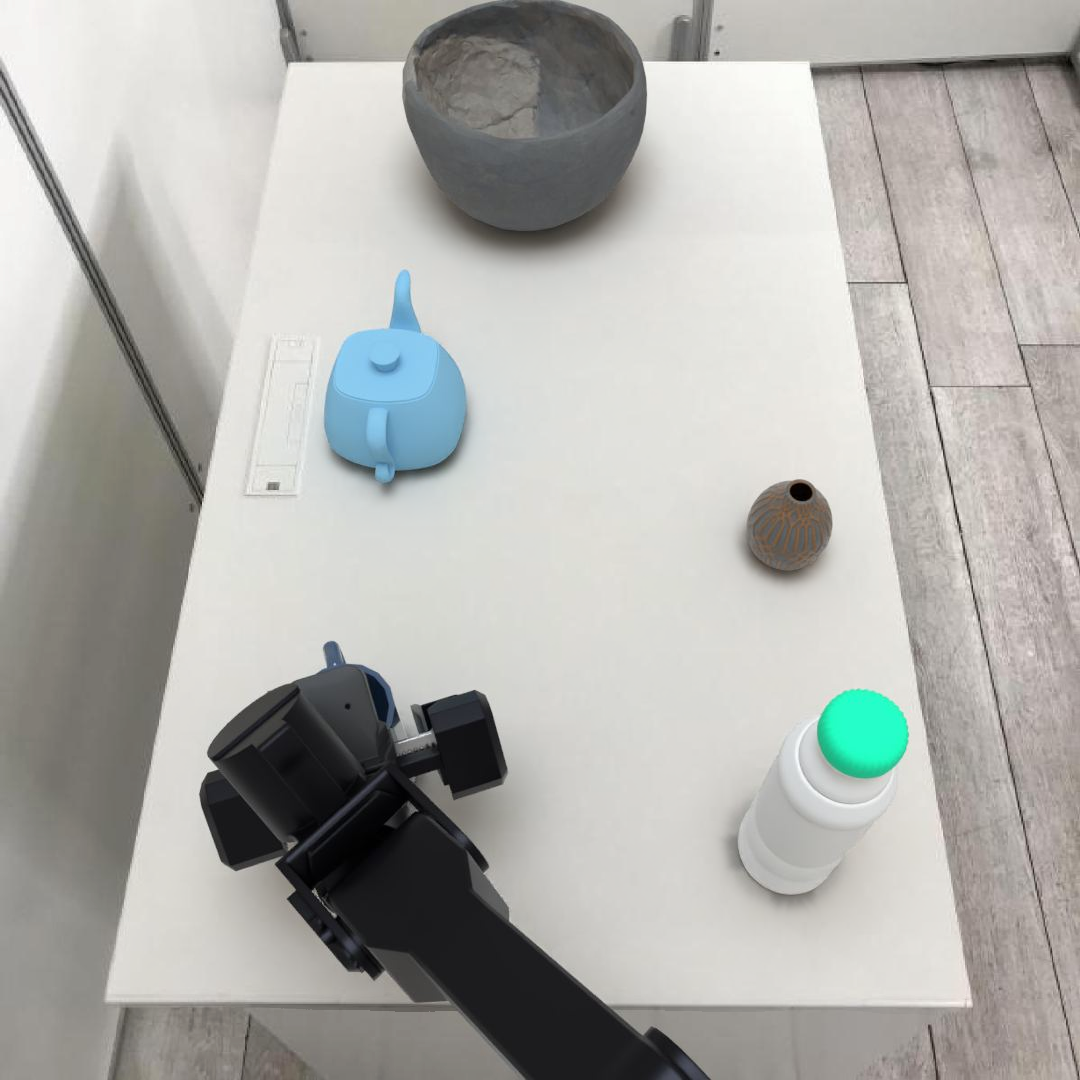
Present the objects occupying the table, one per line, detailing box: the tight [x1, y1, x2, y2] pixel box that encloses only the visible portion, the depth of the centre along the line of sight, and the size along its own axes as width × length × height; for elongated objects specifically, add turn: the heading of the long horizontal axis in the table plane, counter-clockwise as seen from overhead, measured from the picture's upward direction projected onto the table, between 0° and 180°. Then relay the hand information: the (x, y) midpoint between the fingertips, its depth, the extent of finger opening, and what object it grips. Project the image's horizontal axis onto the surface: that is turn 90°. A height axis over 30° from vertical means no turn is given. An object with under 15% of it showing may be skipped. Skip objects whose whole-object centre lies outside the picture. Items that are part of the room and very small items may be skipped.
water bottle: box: [737, 688, 910, 896], centre depth 68 cm, size 7×7×25 cm
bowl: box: [401, 0, 648, 232], centre depth 109 cm, size 24×24×15 cm
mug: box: [315, 640, 417, 784], centre depth 77 cm, size 10×7×13 cm
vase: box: [746, 478, 834, 571], centre depth 88 cm, size 7×7×9 cm
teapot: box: [323, 269, 467, 484], centre depth 95 cm, size 13×11×18 cm
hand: (352, 730), depth 76 cm, fingers open, 9 cm apart
